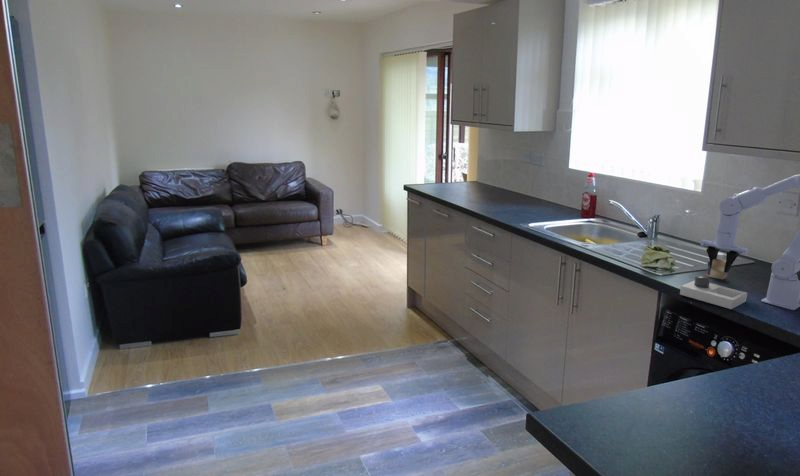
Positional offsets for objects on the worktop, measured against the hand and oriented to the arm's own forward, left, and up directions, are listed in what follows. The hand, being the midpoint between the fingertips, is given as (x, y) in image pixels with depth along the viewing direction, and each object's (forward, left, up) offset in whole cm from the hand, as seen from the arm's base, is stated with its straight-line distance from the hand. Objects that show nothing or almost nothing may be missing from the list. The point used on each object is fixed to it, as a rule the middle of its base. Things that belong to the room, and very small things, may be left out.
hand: (719, 270), depth 197 cm
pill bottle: (+6, -13, -6) cm, 16 cm away
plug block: (0, 0, -2) cm, 2 cm away
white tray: (-4, +13, -6) cm, 15 cm away
